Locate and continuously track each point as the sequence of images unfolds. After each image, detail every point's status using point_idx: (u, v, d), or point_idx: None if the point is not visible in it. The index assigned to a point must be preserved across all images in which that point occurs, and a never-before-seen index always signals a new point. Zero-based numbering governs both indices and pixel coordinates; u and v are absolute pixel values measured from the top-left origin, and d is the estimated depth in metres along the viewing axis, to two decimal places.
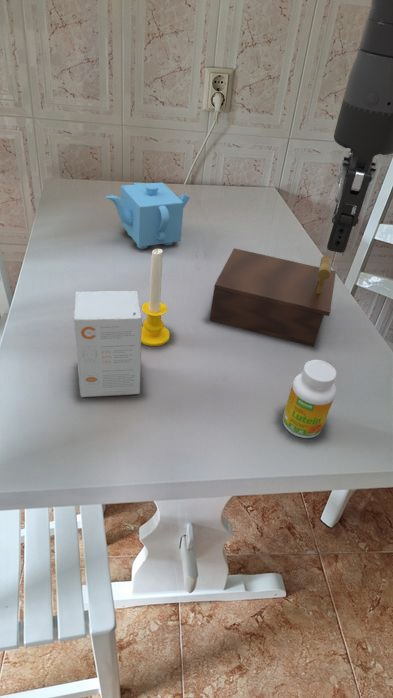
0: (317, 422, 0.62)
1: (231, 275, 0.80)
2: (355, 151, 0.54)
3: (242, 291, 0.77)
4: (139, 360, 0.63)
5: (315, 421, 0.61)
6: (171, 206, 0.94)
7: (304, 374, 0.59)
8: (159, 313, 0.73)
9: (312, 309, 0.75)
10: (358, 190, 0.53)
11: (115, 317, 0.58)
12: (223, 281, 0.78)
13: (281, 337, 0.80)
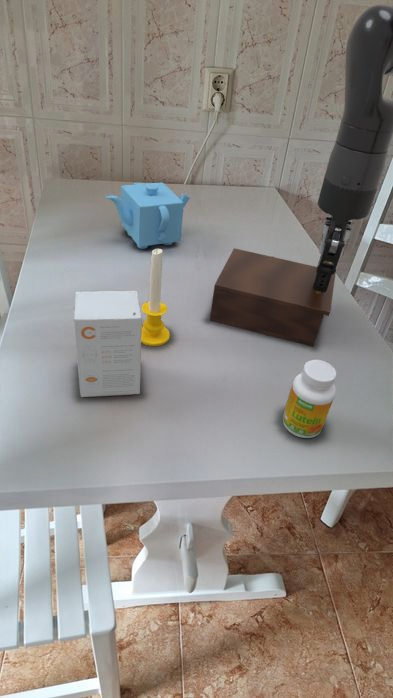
0: (317, 422, 0.62)
1: (231, 275, 0.80)
2: (334, 217, 0.69)
3: (242, 291, 0.77)
4: (139, 360, 0.63)
5: (315, 421, 0.61)
6: (171, 206, 0.94)
7: (304, 374, 0.59)
8: (159, 313, 0.73)
9: (312, 309, 0.75)
10: (334, 253, 0.69)
11: (115, 317, 0.58)
12: (223, 281, 0.78)
13: (281, 337, 0.80)
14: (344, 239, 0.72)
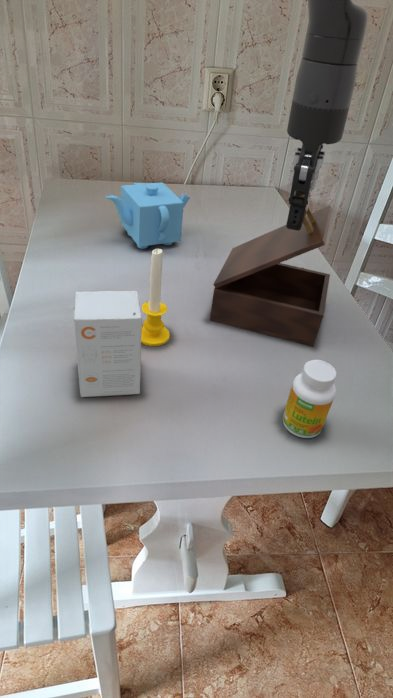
0: (317, 422, 0.62)
1: (228, 268, 0.80)
2: (303, 141, 0.64)
3: (238, 274, 0.75)
4: (139, 360, 0.63)
5: (315, 421, 0.61)
6: (171, 206, 0.94)
7: (304, 374, 0.59)
8: (159, 313, 0.73)
9: (305, 249, 0.70)
10: (304, 180, 0.65)
11: (115, 317, 0.58)
12: (221, 277, 0.78)
13: (281, 337, 0.80)
14: (316, 168, 0.67)
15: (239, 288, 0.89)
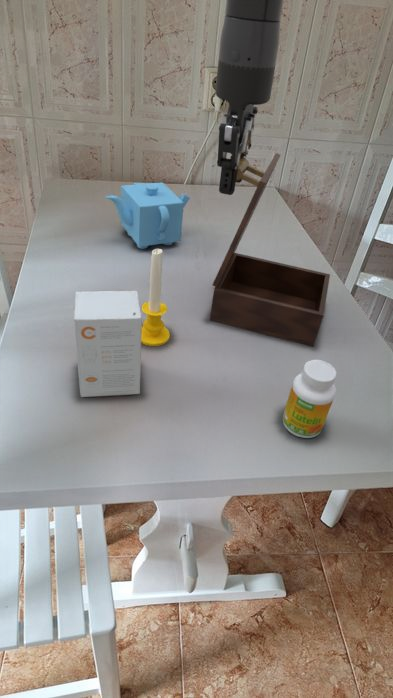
0: (317, 422, 0.62)
1: None
2: (229, 101, 0.64)
3: (223, 262, 0.75)
4: (139, 360, 0.63)
5: (315, 421, 0.61)
6: (171, 206, 0.94)
7: (304, 374, 0.59)
8: (159, 313, 0.73)
9: (253, 199, 0.68)
10: (230, 141, 0.64)
11: (115, 317, 0.58)
12: None
13: (281, 337, 0.80)
14: (245, 130, 0.67)
15: (239, 288, 0.89)
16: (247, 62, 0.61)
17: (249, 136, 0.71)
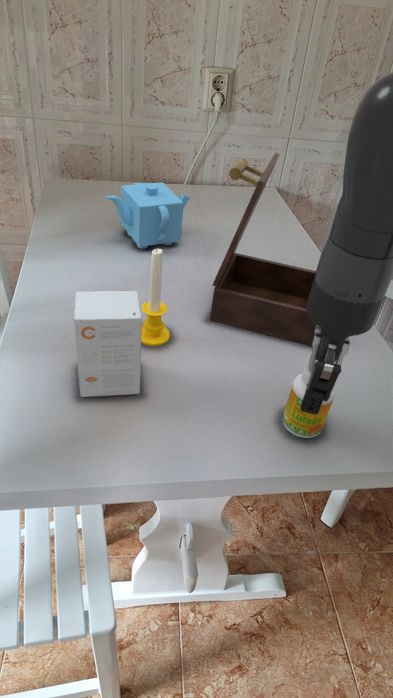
0: (317, 422, 0.62)
1: None
2: (327, 332, 0.52)
3: (223, 262, 0.75)
4: (139, 360, 0.63)
5: (315, 421, 0.61)
6: (171, 206, 0.94)
7: (304, 374, 0.59)
8: (159, 313, 0.73)
9: (252, 198, 0.68)
10: (327, 379, 0.52)
11: (115, 317, 0.58)
12: None
13: (281, 337, 0.80)
14: (341, 355, 0.55)
15: (239, 288, 0.89)
16: (357, 298, 0.49)
17: None
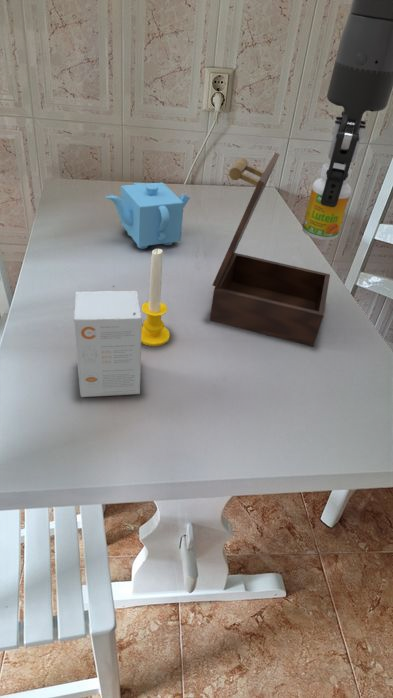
0: (334, 220, 0.69)
1: None
2: (346, 108, 0.59)
3: (223, 262, 0.75)
4: (139, 360, 0.63)
5: (332, 218, 0.69)
6: (171, 206, 0.94)
7: (323, 170, 0.67)
8: (159, 313, 0.73)
9: (252, 198, 0.68)
10: (347, 150, 0.59)
11: (115, 317, 0.58)
12: None
13: (281, 337, 0.80)
14: None
15: (239, 288, 0.89)
16: (374, 65, 0.56)
17: None
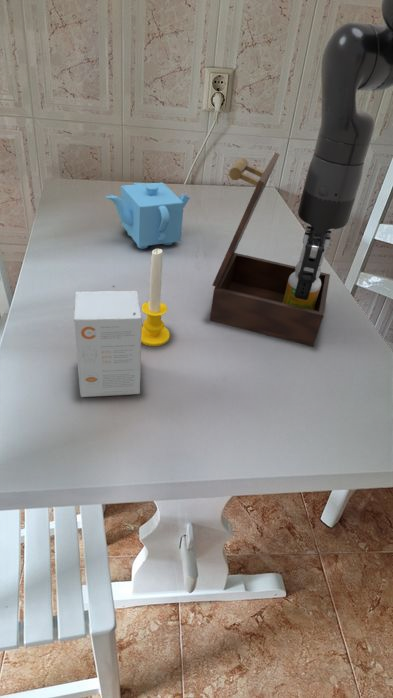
0: (307, 308, 0.80)
1: None
2: (313, 226, 0.71)
3: (223, 262, 0.75)
4: (139, 360, 0.63)
5: (305, 307, 0.80)
6: (171, 206, 0.94)
7: (297, 268, 0.78)
8: (159, 313, 0.73)
9: (252, 198, 0.68)
10: (314, 258, 0.70)
11: (115, 317, 0.58)
12: None
13: (281, 337, 0.80)
14: (324, 248, 0.74)
15: (239, 288, 0.89)
16: (334, 197, 0.67)
17: None
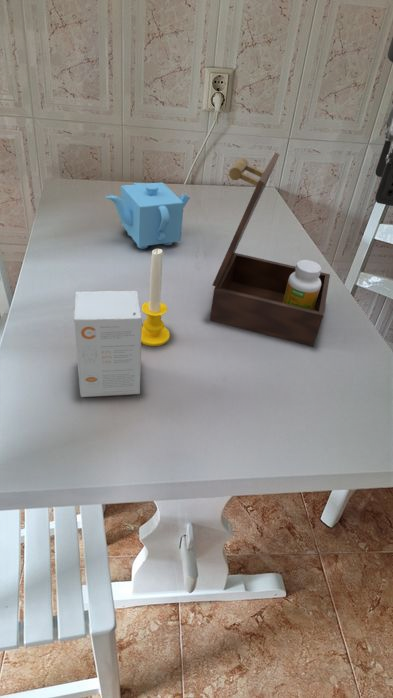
0: (307, 308, 0.80)
1: None
2: None
3: (223, 262, 0.75)
4: (139, 360, 0.63)
5: (305, 307, 0.80)
6: (171, 206, 0.94)
7: (297, 269, 0.78)
8: (159, 313, 0.73)
9: (252, 198, 0.68)
10: None
11: (115, 317, 0.58)
12: None
13: (281, 337, 0.80)
14: None
15: (239, 288, 0.89)
16: None
17: None
